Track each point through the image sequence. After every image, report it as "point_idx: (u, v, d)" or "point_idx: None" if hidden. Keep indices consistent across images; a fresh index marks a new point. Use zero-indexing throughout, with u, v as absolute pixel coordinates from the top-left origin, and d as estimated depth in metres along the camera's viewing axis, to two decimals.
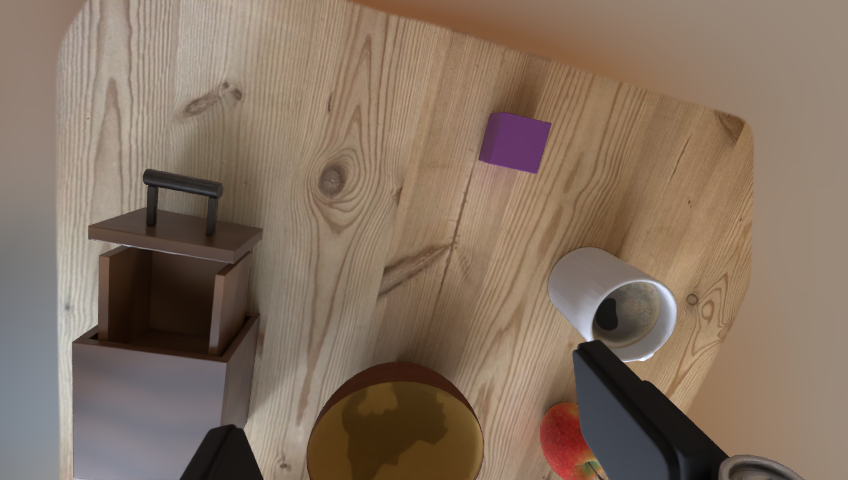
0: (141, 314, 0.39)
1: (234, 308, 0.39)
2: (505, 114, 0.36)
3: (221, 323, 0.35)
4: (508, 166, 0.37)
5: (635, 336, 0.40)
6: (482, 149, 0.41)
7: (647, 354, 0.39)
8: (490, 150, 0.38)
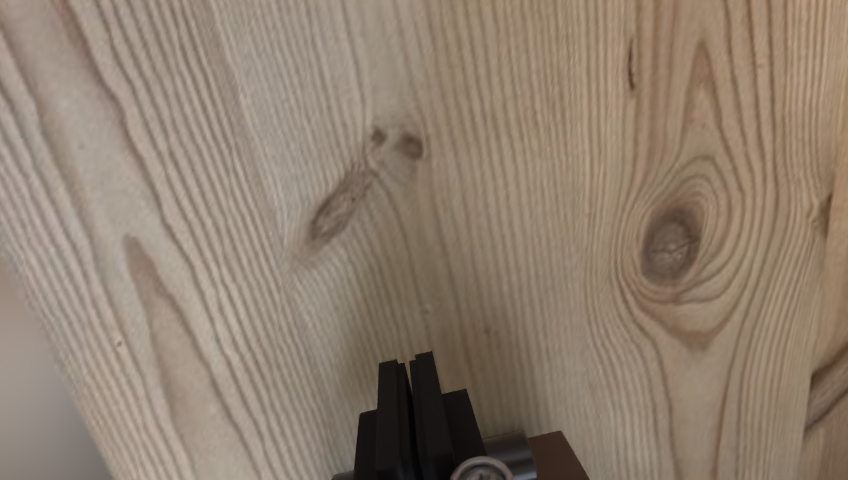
0: None
1: None
2: None
3: None
4: None
5: None
6: None
7: None
8: None
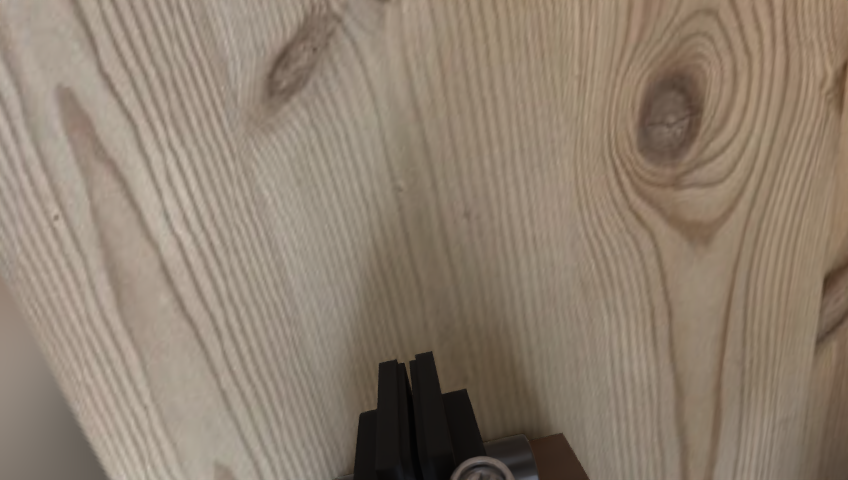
0: None
1: None
2: None
3: None
4: None
5: None
6: None
7: None
8: None
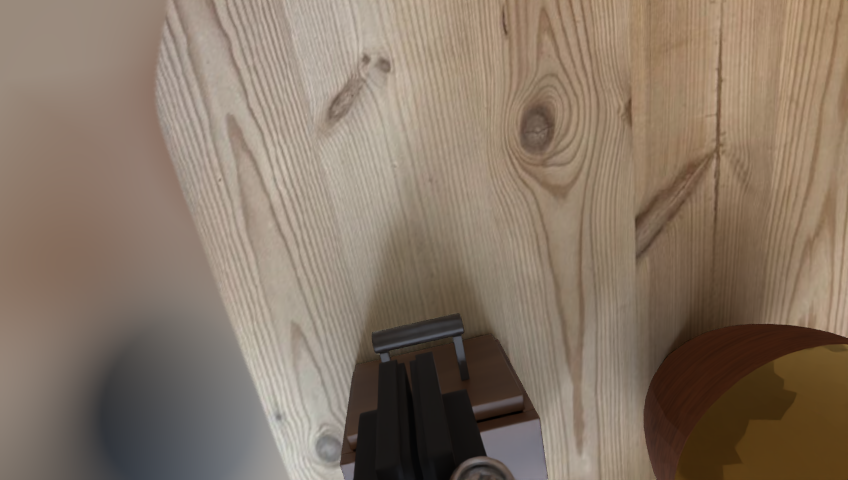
0: None
1: None
2: None
3: None
4: None
5: None
6: None
7: None
8: None
